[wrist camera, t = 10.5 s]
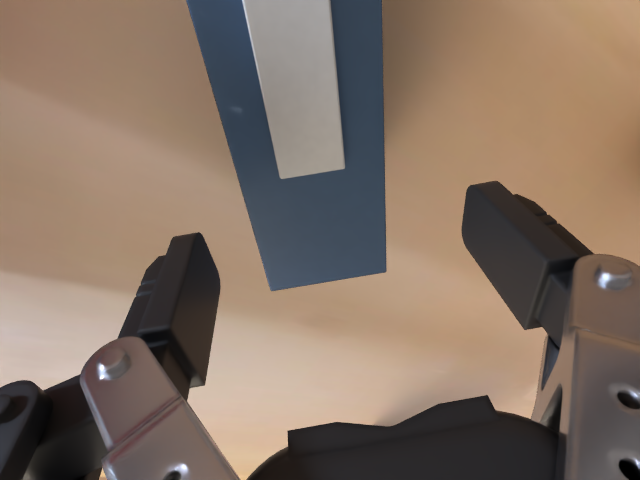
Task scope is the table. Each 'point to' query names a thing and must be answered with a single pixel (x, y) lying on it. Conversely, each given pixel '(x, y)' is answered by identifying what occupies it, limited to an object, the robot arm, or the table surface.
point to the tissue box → (303, 129)
